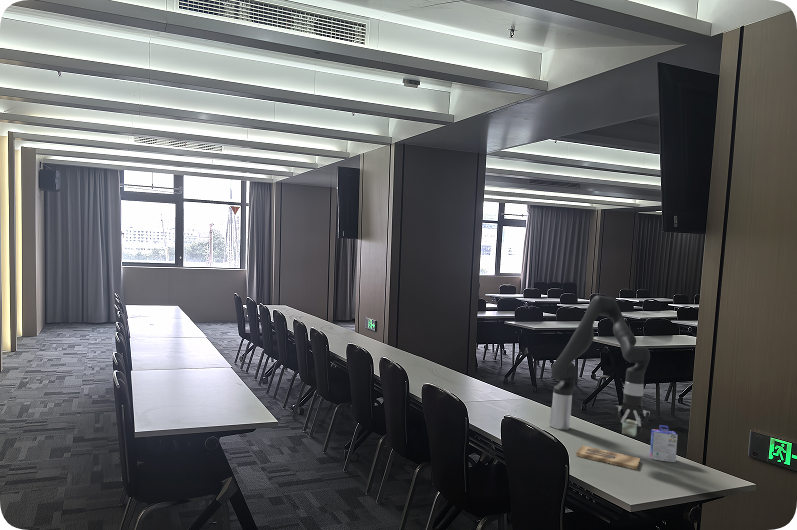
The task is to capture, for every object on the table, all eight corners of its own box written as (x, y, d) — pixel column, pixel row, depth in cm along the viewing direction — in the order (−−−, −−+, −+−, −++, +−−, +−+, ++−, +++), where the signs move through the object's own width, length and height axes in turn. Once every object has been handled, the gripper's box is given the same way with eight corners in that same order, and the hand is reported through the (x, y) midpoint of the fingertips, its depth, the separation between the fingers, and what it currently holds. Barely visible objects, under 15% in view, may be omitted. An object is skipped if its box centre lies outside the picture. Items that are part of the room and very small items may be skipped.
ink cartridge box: (672, 458, 243) (675, 426, 242) (676, 463, 237) (679, 429, 237) (648, 455, 244) (651, 423, 244) (651, 459, 239) (654, 426, 239)
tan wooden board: (576, 455, 237) (576, 452, 236) (581, 448, 247) (582, 445, 247) (636, 470, 225) (636, 466, 225) (639, 461, 235) (640, 458, 235)
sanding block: (621, 434, 230) (622, 423, 230) (626, 429, 237) (627, 419, 237) (634, 436, 227) (635, 426, 227) (639, 432, 234) (639, 421, 234)
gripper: (653, 394, 231) (649, 434, 232) (616, 388, 238) (613, 427, 239) (651, 397, 225) (648, 439, 225) (614, 391, 232) (611, 431, 232)
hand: (630, 432), depth 232 cm, fingers closed on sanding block, 5 cm apart
